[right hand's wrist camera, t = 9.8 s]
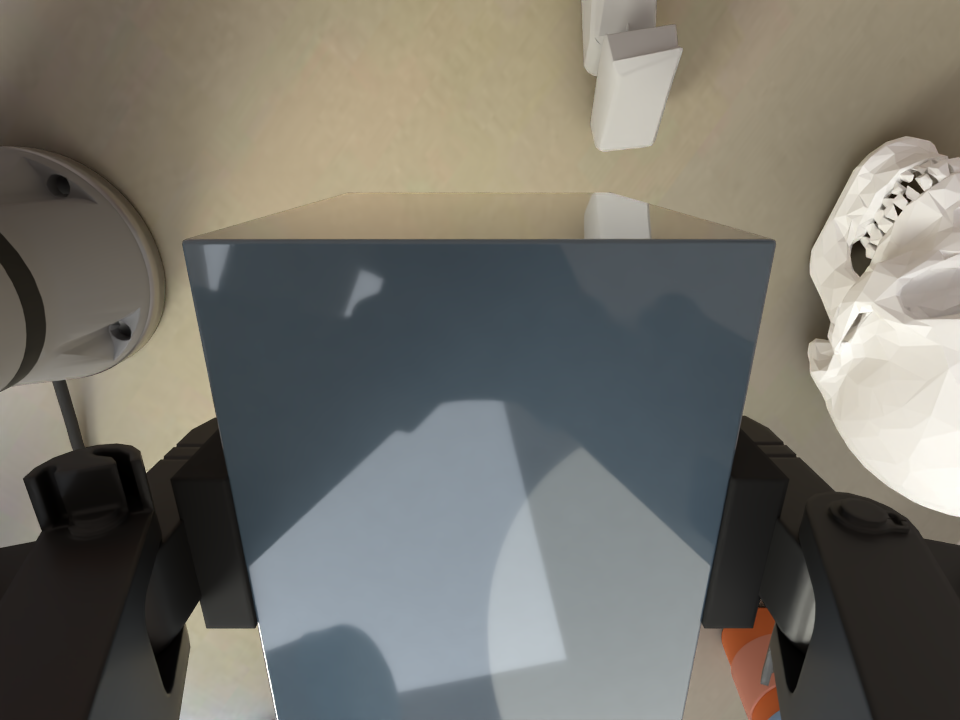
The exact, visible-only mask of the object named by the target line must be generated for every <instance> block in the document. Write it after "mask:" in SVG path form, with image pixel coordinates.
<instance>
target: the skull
mask: <svg viewBox="0 0 960 720" xmlns="http://www.w3.org/2000/svg"><path fill="white" fill-rule="evenodd" d="M912 173H915V175H916V177H917V178H915V179H916V181H917V182H918V184H919V185H920V186H921V188H922V189H923V190H924V192H923V193H921V194H919V193H918V192H916V191H915V190H914V189H912V188H911V187H909V186H907V188H905V187H904V186H903V185H901V182H902V181H905V182H908V183H909V182H911V181H912V180H913V177H914V175H913V174H912ZM905 191H906V193H905ZM891 193H892V194H896V195H897V196H896V197H895V198H894V199H892V198H889V196H890V195H891ZM904 193H905V194H906V196H907V198H909V199H911V200H912V201H911V202H910V203H908V201H907V200H906V199H905V198H904V197H903V195H904ZM893 204H895V205H896V206H898V207H899V208H900V209H901V210H903V211H902V212H901V213H900V215H899V216H898V215H897V213H896V210H895V206H894V205H893ZM884 207H886V209H885V210H884ZM888 218H890V219H892V220H894V221H892V220H890V219H888ZM875 221H876V222H877V224H878V225H876V224H874V222H875ZM880 229H881V230H882V231H883V232H884V233H886V234H884V233H883V232H882V231H881V230H880ZM866 232H868V234H869V235H870V238H868V237H865V234H866ZM859 240H860V241H861V243H862V245H863V246H864V247H865V249H866V257H867V258H870V259H872V260H871V263H870V265H869V266H868V268H867V269H866V270H865V272H864V273H863V274H862V275H861V277H860V276H859V275H858V274H857V273H855V271H854V270H853V266H852V262H851V257H850V254H851V249H852V245H853V244H854V243H855V242H857V241H859ZM872 244H875V245H877V246H875V245H872ZM809 266H810V276H811V278H812V280H813V282H814V284H815V286H816V288H817V290H818V293H819V295H820V297H821V299H822V301H823V304H824V307H825V309H826V312H827V314H828V316H829V319H830V321H831V323H830V327H829V332H828V339H829V340H825V339H815V340H813V341H812V342H810V343H809V347H808V358H809V362H810V374H811V376H812V378H813V380H814V382H815V384H816V385H817V387H818V388H819V390H820V392H821V393H822V395H823V398H824V400H825V402H826V407H827V409H828V412H829V414H830V416H831V418H832V420H833V422H834V425H835V427H836V428H837V430H838V432H839V433H840V435H841V436H842V438H843V440H844V441H845V443H846V445H847V446H848V448H849V449H850V450H851V452H852V453H853V454H854V455H855V456H856V457H857V459H858V460H859V461H860V462H861V463H862V464H863V466H864V467H865V468H866V469H868V470H869V471H870V472H871V473H872V474H874V475H875V476H876V477H877V478H878V479H880V480H881V481H882V482H883V483H884V484H885V485H887V486H888V487H890V488H892V489H893V490H895V491H896V492H898V493H900V494H901V495H903V496H905V497H906V498H908V499H910V500H911V501H913V502H915V503H918V504H920V505H922V506H924V507H927V508H930V509H933V510H936V511H939V512H942V513H945V514H948V515H952V516H957V517H960V157H957V158H952V159H949V158H948V156H945V155H942V154H938V152H937V149H936V147H935V145H934V144H933V143H932V142H931V141H928V140H923V139H919V138H914V137H908V136H905V137H901V138H898V139H895V140H891V141H888V142H885V143H884V144H883V145H881V146H880V147H878V148H877V149H875V150H874V151H872V152H871V153H869V154H868V155H867V156H866V157H865V158H864V159H863V160H862V161H861V162H860V164H859V165H858V166H857V167H856V168H855V169H854V170H853V172H852V174H851V176H850V178H849V180H848V182H847V184H846V185H845V187H844V189H843V191H842V193H841V195H840V197H839V199H838V201H837V203H836V205H835V207H834V208H833V210H832V212H831V214H830V216H829V218H828V220H827V222H826V224H825V225H824V227H823V229H822V231H821V233H820V235H819V237H818V239H817V241H816V243H815V244H814V246H813V248H812V250H811V257H810V264H809ZM859 313H862V314H860V315H858V314H859Z"/></svg>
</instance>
